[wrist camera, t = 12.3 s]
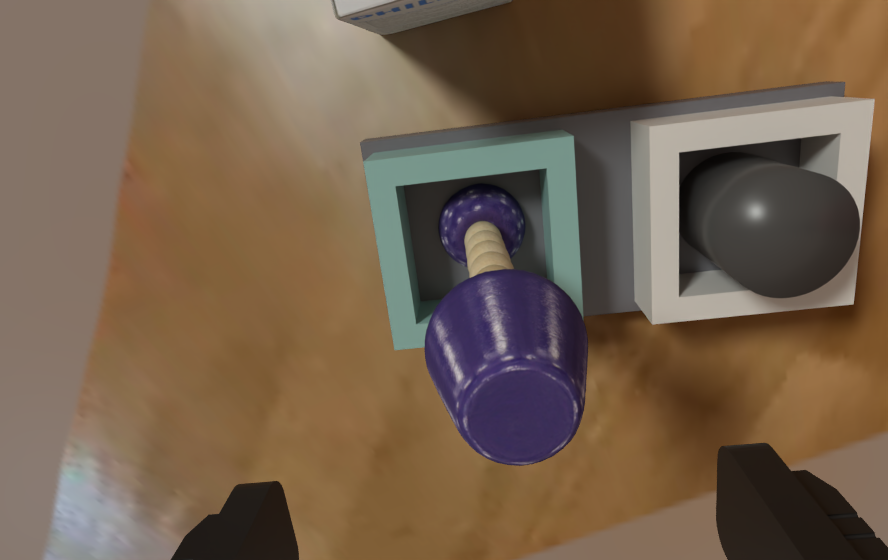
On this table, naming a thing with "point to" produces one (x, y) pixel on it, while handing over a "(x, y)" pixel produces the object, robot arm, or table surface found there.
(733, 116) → the multicoloured piece
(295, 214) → the table surface
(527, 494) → the table surface
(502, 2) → the light bulb box
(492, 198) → the toy lamp
